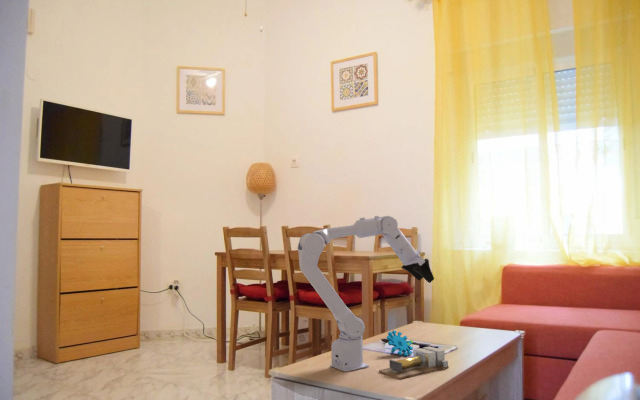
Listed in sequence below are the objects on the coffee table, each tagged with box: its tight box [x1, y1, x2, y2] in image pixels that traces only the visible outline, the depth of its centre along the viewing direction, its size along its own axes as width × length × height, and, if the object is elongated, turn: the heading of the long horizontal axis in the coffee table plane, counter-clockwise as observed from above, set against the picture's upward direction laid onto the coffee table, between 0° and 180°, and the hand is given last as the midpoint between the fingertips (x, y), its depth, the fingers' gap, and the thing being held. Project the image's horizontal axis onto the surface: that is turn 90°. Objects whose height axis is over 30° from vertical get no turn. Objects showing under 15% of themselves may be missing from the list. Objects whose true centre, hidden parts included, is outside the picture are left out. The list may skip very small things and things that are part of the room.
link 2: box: [422, 346, 449, 367], centre depth 149 cm, size 3×8×4 cm, turn 34°
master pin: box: [389, 356, 422, 371], centre depth 143 cm, size 10×4×2 cm, turn 124°
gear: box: [386, 329, 414, 358], centre depth 165 cm, size 11×6×10 cm
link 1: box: [412, 348, 436, 368], centre depth 148 cm, size 3×8×4 cm, turn 34°
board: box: [378, 362, 449, 380], centre depth 145 cm, size 20×9×1 cm, turn 124°
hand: (426, 279), depth 158 cm, fingers open, 7 cm apart
